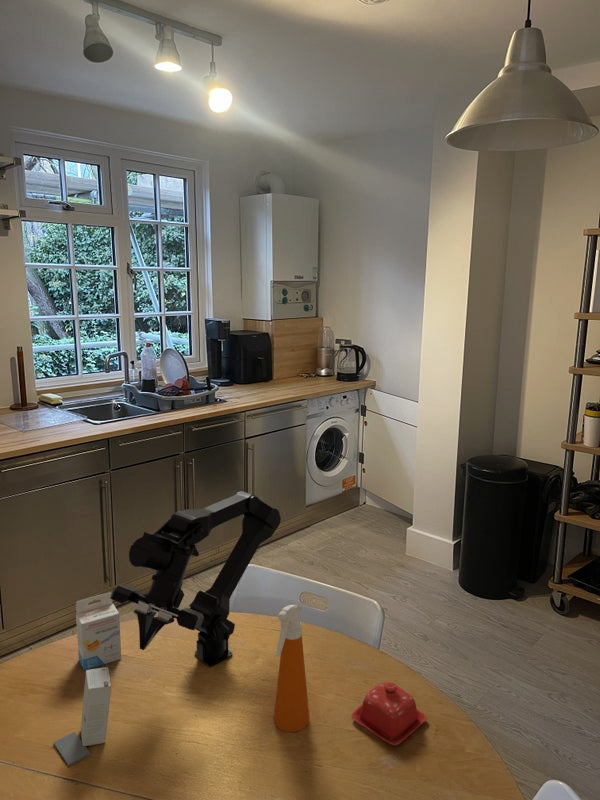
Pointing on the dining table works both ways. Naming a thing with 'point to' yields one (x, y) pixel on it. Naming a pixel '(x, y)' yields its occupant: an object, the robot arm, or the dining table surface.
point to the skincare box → (95, 706)
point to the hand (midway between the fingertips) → (142, 649)
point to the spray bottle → (291, 674)
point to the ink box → (98, 631)
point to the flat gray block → (71, 748)
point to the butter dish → (389, 713)
